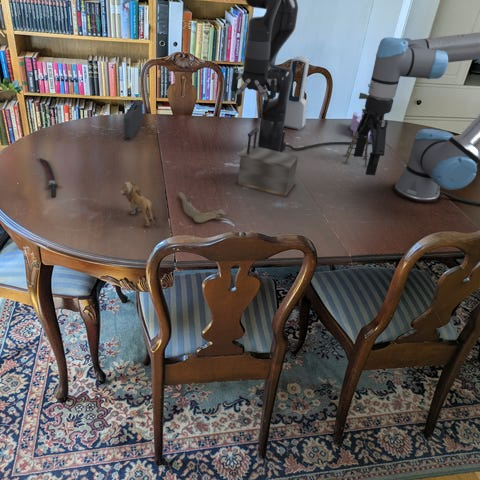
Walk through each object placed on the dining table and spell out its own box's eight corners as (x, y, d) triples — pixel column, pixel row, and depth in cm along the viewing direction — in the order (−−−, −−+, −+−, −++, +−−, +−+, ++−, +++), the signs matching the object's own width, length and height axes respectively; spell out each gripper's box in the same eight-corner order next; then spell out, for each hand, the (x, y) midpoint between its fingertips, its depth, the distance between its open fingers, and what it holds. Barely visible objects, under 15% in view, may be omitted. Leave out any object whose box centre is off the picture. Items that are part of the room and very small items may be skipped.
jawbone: (206, 230, 134) (206, 224, 132) (158, 205, 144) (157, 199, 143) (227, 217, 139) (227, 212, 138) (179, 194, 150) (179, 188, 148)
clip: (343, 126, 223) (346, 112, 219) (367, 127, 225) (371, 113, 221) (360, 142, 206) (364, 127, 202) (386, 142, 209) (390, 127, 205)
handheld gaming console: (136, 121, 202) (136, 98, 197) (143, 121, 202) (142, 98, 197) (123, 140, 183) (122, 115, 178) (130, 141, 183) (130, 116, 178)
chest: (237, 184, 160) (240, 156, 155) (248, 173, 168) (250, 147, 163) (285, 196, 156) (289, 168, 150) (293, 184, 164) (298, 158, 158)
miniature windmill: (366, 166, 183) (386, 89, 167) (344, 163, 184) (362, 86, 168) (365, 158, 191) (384, 83, 175) (345, 154, 192) (362, 80, 176)
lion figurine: (118, 210, 138) (116, 182, 133) (132, 204, 141) (131, 177, 137) (151, 229, 130) (150, 201, 126) (165, 223, 134) (165, 195, 129)
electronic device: (304, 126, 217) (316, 59, 201) (301, 131, 211) (313, 62, 195) (279, 121, 220) (288, 54, 204) (275, 125, 214) (284, 57, 198)
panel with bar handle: (237, 156, 155) (240, 132, 151) (248, 146, 163) (250, 124, 159) (289, 168, 150) (293, 144, 146) (298, 158, 158) (301, 135, 154)
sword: (61, 197, 141) (61, 193, 140) (50, 198, 139) (50, 194, 139) (49, 160, 164) (48, 156, 163) (39, 160, 163) (39, 157, 162)
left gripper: (230, 53, 140) (226, 107, 149) (275, 61, 137) (269, 115, 145) (239, 49, 146) (235, 101, 155) (283, 57, 143) (276, 109, 151)
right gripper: (356, 84, 143) (342, 149, 155) (381, 109, 123) (363, 182, 134) (379, 85, 144) (364, 150, 156) (408, 111, 123) (388, 183, 135)
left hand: (251, 108), depth 150 cm, fingers open, 8 cm apart
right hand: (363, 165), depth 145 cm, fingers open, 13 cm apart
